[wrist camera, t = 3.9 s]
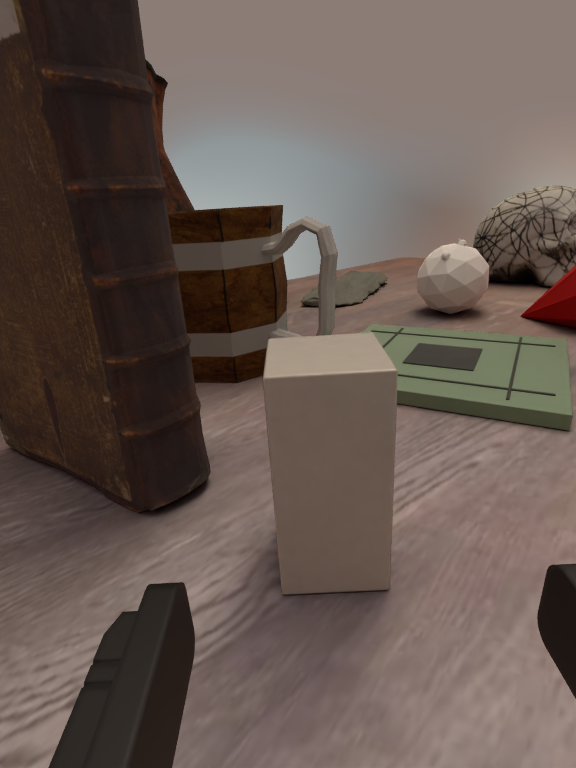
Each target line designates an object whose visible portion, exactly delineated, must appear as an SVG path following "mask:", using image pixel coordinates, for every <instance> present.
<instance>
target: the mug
mask: <svg viewBox="0 0 576 768" xmlns="http://www.w3.org/2000/svg"><path fill="white" fill-rule="evenodd" d="M282 214H283V205H275V206H257V207H256V206H254V207H238V208H223V209H207V210H193V211H179V212H168V218H169V224H170V231H171V238H172V245H173V251H174V257H175V261H176V264H177V267H178V279H179V286H180V292H181V299H182V305H183V312H184V318H185V325H186V331H187V334H188V335H189V337H190V339H191V342H190V347H189V348H190V354H191V361H192V368H193V374H194V381H195V382H235V383H236V382H240V381H243V380H247V379H250V378H253V377H257V376H260V375H263V373H264V365H265V358H266V350H267V342H268V339H272V338H289V337H302V336H300V335H298V334H295V333H292V332H289V331H288V330H287V314H286V305H287V278H286V272H285V265H284V259H283V253H284V252H285V251H287V250H288V249H289V248H290V247H291V246H292V245H293V243H294V242H295V241H296V239H297V238H298V236H299V235H300V234H301V233H302V232H304V231H305V230H308V231H310V232H312V233H314V234H316V235H317V240H318V245H319V249H320V254H321V265H320V274H319V284H318V300H319V329H318V332H317V335H316V336H323V335H331V333H332V331H333V329H334V320H335V278H336V267H337V254H338V252H337V249H336V245H335V242H334V239H333V235H332V232H331V229H330V226H327V225H325V224H323V223H321V222H319V221H317V220H315V219H313V218H310V217H305V218H303V219H301V220H299V221H297V222H295V223H292V224H290V225H289V226H287V227H286V229H285V230H284V232H283V233H282Z"/></svg>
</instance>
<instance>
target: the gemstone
mask: <svg viewBox="0 0 576 768" xmlns="http://www.w3.org/2000/svg"><path fill="white" fill-rule="evenodd" d="M521 317H526V318H531V319H536V320H541V321H546V322H551V323H556V324H561V325H565V326H570V327H575V328H576V265H575V266H574V267H573V268H572V269H571V270H570V271H569V272H567V273H566V274H565V275H564V276H563V277H562V278H561V279H560V280H559V281H558V282H557V283H556V284H555V285H553V286H552V287H551V288H550V289H549V290H548V291H547V292H546V293H545V294H544V295H543V296H542V297H540V298H539V299H538V300H537V301H536V302H535V303H534V304H533V305H532V306H531V307H530V308H529V309H528V310H526V311H525V312H524V313H523V314H522V315H521Z"/></svg>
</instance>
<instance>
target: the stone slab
mask: <svg viewBox="0 0 576 768" xmlns="http://www.w3.org/2000/svg"><path fill="white" fill-rule="evenodd" d="M387 279H388V278H387V277H385V276H384V275H383V274H381V273H371V272H358V271H350V272H348V273H346V274H344V275H342V276H340V277H337V278H335V306H341V305H351V304H357V303H361V302H363V299H365V298H366V297H367V295H368V294H370V293H372V292H374V291H375V290H376V289H378V288H379V287H380V284H383V283H384V282H385V281H387ZM301 302H302V303H303V304H306V305H311V306H319V300H318V287H317V288H315V289H312V291H311V292H309V293H308V294H307V295H305V296H304V298H303V299H302V300H301Z"/></svg>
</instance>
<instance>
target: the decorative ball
mask: <svg viewBox="0 0 576 768" xmlns="http://www.w3.org/2000/svg"><path fill="white" fill-rule="evenodd" d="M459 240H460V239H459ZM488 281H489V265H488V263H487V262H486V261H485V260H484V258H483V257H482V256H481V254H480V253H479V252H478V250H477V249H476V248H472V247H468V246H467V242H466V241H465V240H460V241H459V242H458V244H455V243H453V244H449V245H444V246H441V247H439V248H438V249H436V250H434V251H433V252H432V253H431V254H430V255H429V256H428V257H427V258H426V259H425V260H424V262H423V264H422V265H421V267H420V269H419V271H418V277H417V283H418V292H419V294H420V295H421V297H422V298H423V299H424V301H425V302H426V304H427V305H428V306H429V308H431V309H434V310H438V311H441V312H445V313H448V314H453V313H456V312H459V311H462V310H466V309H469V308H472V307H474V305H475V304H476V303H477V302H478V300H479V299H480V298H481V297H482V295H483V294H484V293H485V292H486V290H487V289H488Z"/></svg>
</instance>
